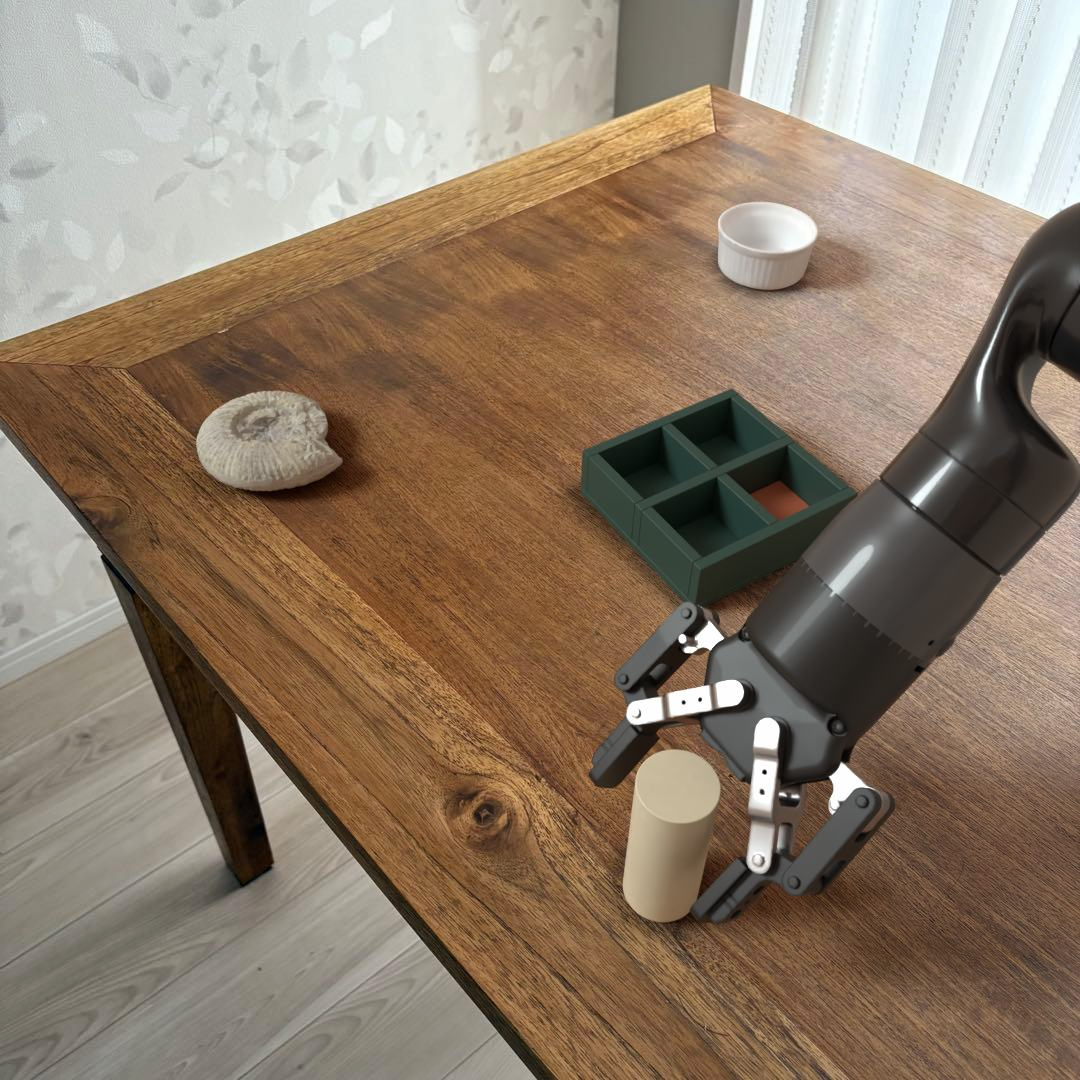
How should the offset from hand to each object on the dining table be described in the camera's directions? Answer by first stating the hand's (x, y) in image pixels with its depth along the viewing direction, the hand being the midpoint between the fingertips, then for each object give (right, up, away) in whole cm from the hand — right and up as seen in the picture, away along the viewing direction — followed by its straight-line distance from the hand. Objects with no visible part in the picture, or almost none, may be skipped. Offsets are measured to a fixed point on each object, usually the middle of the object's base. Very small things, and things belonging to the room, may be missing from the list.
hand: (649, 847), depth 55 cm
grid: (+7, +17, +24) cm, 30 cm away
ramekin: (+15, +40, +47) cm, 63 cm away
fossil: (-25, +21, +28) cm, 43 cm away
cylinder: (+1, -3, +4) cm, 5 cm away
